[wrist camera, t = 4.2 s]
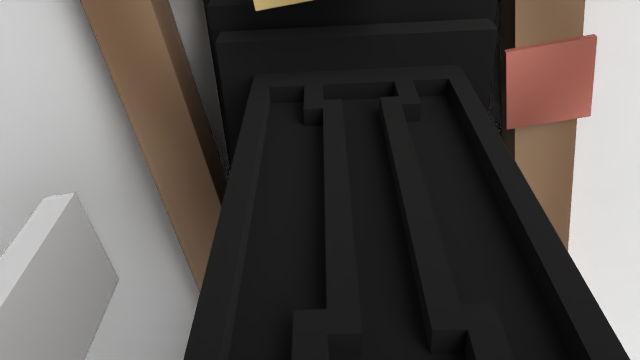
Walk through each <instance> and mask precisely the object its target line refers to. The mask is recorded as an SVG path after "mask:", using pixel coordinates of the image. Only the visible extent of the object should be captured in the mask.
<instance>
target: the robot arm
mask: <svg viewBox="0 0 640 360" xmlns="http://www.w3.org/2000/svg"><path fill="white" fill-rule="evenodd" d="M118 280H119V278H118V276H117V274H116V272H115V270H114V268H113V266H112V264H111V262H110V260H109V258H108V256H107V254H106V252H105V250H104V248H103V246H102V244H101V242H100V240H99V238H98V236H97V234H96V232H95V230H94V228H93V226H92V224H91V222H90V220H89V218H88V217H87V215H86V213H85V211H84V209H83V207H82V205H81V203H80V201H79V199H78V197H77V195H76V193H75V192H73V193H67V194H61V195H55V196H48V197H44V198H43V200H42V201H41V203H40V204H39V205H38V207H37V208H36V209H35V211H34V212H33V214H32V215H31V216H30V218H29V219H28V221H27V222H26V223H25V225H24V226H23V227H22V229H21V230H20V232H19V233H18V234H17V236H16V237H15V239H14V240H13V241H12V243H11V244H10V245H9V247H8V248H7V250H6V251H5V252H4V254H3V255H2V257H1V258H0V360H84V359H85V357H86V355H87V352H88V350H89V348H90V345H91V343H92V341H93V338H94V336H95V334H96V331H97V329H98V327H99V324H100V322H101V320H102V318H103V315H104V313H105V311H106V308H107V306H108V304H109V301H110V299H111V297H112V294H113V292H114V290H115V287H116V285H117V283H118Z"/></svg>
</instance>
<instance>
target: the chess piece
mask: <svg viewBox="0 0 640 360" xmlns="http://www.w3.org/2000/svg"><path fill="white" fill-rule="evenodd" d="M203 2H204V8H205V14H206V20H207V27H208V33H209V39H210V46H211V52H212V58H213V64H214V71H215V77H216V83H217V89H218V96H219V102H220V108H221V115H222V121H223V127H224V133H225V140H226V146H227V152H228V159H229V165H230V174H229V178H228V182H227V186H226V190H225V194H224V198H223V202H222V207H221V211H220V215H219V219H218V223H217V227H216V231H215V235H214V239H213V243H212V247H211V251H210V255H209V259H208V263H207V267H206V271H205V275H204V279H203V283H202V287H201V291H200V295H199V300H198V304H197V308H196V312H195V316H194V320H193V324H192V328H191V332H190V336H189V340H188V344H187V348H186V352H185V356H184V360H630V359H629V357H628V355H627V353H626V352H625V350H624V348H623V346H622V345H621V343H620V341H619V340H618V338H617V336H616V334H615V333H614V331H613V329H612V327H611V326H610V324H609V322H608V321H607V319H606V317H605V315H604V314H603V312H602V310H601V308H600V307H599V305H598V303H597V301H596V300H595V298H594V296H593V295H592V293H591V291H590V289H589V288H588V286H587V284H586V282H585V281H584V279H583V277H582V276H581V274H580V272H579V270H578V269H577V267H576V265H575V263H574V262H573V260H572V258H571V257H570V255H569V253H568V251H567V250H566V248H565V246H564V244H563V243H562V241H561V239H560V238H559V236H558V234H557V232H556V231H555V229H554V227H553V225H552V224H551V222H550V220H549V218H548V217H547V215H546V213H545V212H544V210H543V208H542V206H541V205H540V203H539V201H538V199H537V198H536V196H535V194H534V193H533V191H532V189H531V187H530V186H529V184H528V182H527V180H526V179H525V177H524V175H523V174H522V172H521V170H520V168H519V167H518V165H517V163H516V161H515V160H514V158H513V156H512V155H511V153H510V151H509V149H508V148H507V146H506V144H505V142H504V141H503V139H502V137H501V135H500V134H499V132H498V130H497V129H496V127H495V125H494V123H493V122H492V120H491V118H490V116H489V115H488V107H489V99H490V91H491V83H492V75H493V67H494V59H495V51H496V42H497V34H498V28H497V27H496V26H495V20H496V12H497V3H498V0H312V1H306V2H301V3H296V4H290V5H285V6H280V7H274V8H269V9H264V10H259V11H256V10H255V6H254V2H253V0H203Z"/></svg>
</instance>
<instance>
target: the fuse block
mask: <svg viewBox="0 0 640 360" xmlns="http://www.w3.org/2000/svg"><path fill="white" fill-rule="evenodd" d="M80 1H81V3H82V6H83V8H84V10H85V13H86V15H87V18H88V20H89V23H90V25H91V28H92V30H93V32H94V35H95V37H96V40H97V42H98V45H99V47H100V50H101V52H102V54H103V57H104V59H105V62H106V64H107V67H108V69H109V72H110V74H111V76H112V79H113V81H114V84H115V86H116V89H117V91H118V93H119V96H120V98H121V101H122V103H123V106H124V108H125V111H126V113H127V115H128V118H129V120H130V123H131V125H132V128H133V130H134V133H135V135H136V137H137V140H138V142H139V145H140V147H141V150H142V152H143V155H144V157H145V159H146V162H147V164H148V167H149V169H150V172H151V174H152V177H153V179H154V181H155V184H156V186H157V189H158V191H159V194H160V196H161V199H162V201H163V203H164V206H165V208H166V211H167V213H168V216H169V218H170V221H171V223H172V225H173V228H174V230H175V233H176V235H177V238H178V240H179V243H180V245H181V247H182V250H183V252H184V255H185V257H186V260H187V262H188V265H189V267H190V269H191V272H192V274H193V277H194V279H195V282H196V284H197V287H198V289H199V291H201V287H202V283H203V279H204V275H205V271H206V267H207V263H208V259H209V255H210V251H211V247H212V243H213V239H214V235H215V231H216V227H217V223H218V219H219V215H220V211H221V207H222V202H223V198H224V194H225V190H226V186H227V179H226V176H225V173H224V170H223V167H222V164H221V160H220V157H219V154H218V151H217V148H216V145H215V142H214V139H213V136H212V133H211V130H210V127H209V124H208V121H207V117H206V114H205V111H204V108H203V105H202V102H201V99H200V96H199V93H198V90H197V87H196V84H195V81H194V78H193V75H192V71H191V68H190V65H189V62H188V59H187V56H186V53H185V50H184V47H183V44H182V41H181V38H180V35H179V32H178V29H177V25H176V22H175V19H174V16H173V13H172V10H171V7H170V4H169V1H168V0H80ZM306 1H312V0H253V2H254V6H255V10H256V11H259V10H264V9H269V8H274V7H280V6H285V5H290V4H296V3H301V2H306ZM584 9H585V0H500V46H501V132H502V139H503V141H504V142H505V144H506V146H507V148H508V149H509V151H510V153H511V155H512V156H513V158H514V160H515V161H516V163H517V165H518V167H519V168H520V170H521V172H522V174H523V175H524V177H525V179H526V180H527V182H528V184H529V186H530V187H531V189H532V191H533V193H534V194H535V196H536V198H537V199H538V201H539V203H540V205H541V206H542V208H543V210H544V212H545V213H546V215H547V217H548V218H549V220H550V222H551V224H552V225H553V227H554V229H555V231H556V232H557V234H558V236H559V238H560V239H561V241H562V243H563V244H564V246H565V248H566V250H567V251H568V240H569V226H570V211H571V197H572V183H573V168H574V154H575V139H576V125H577V118H582V117H588V116H591V104H592V92H593V80H594V68H595V56H596V44H597V36H596V35H594V34H593V35H587V36H583V24H584Z"/></svg>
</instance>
